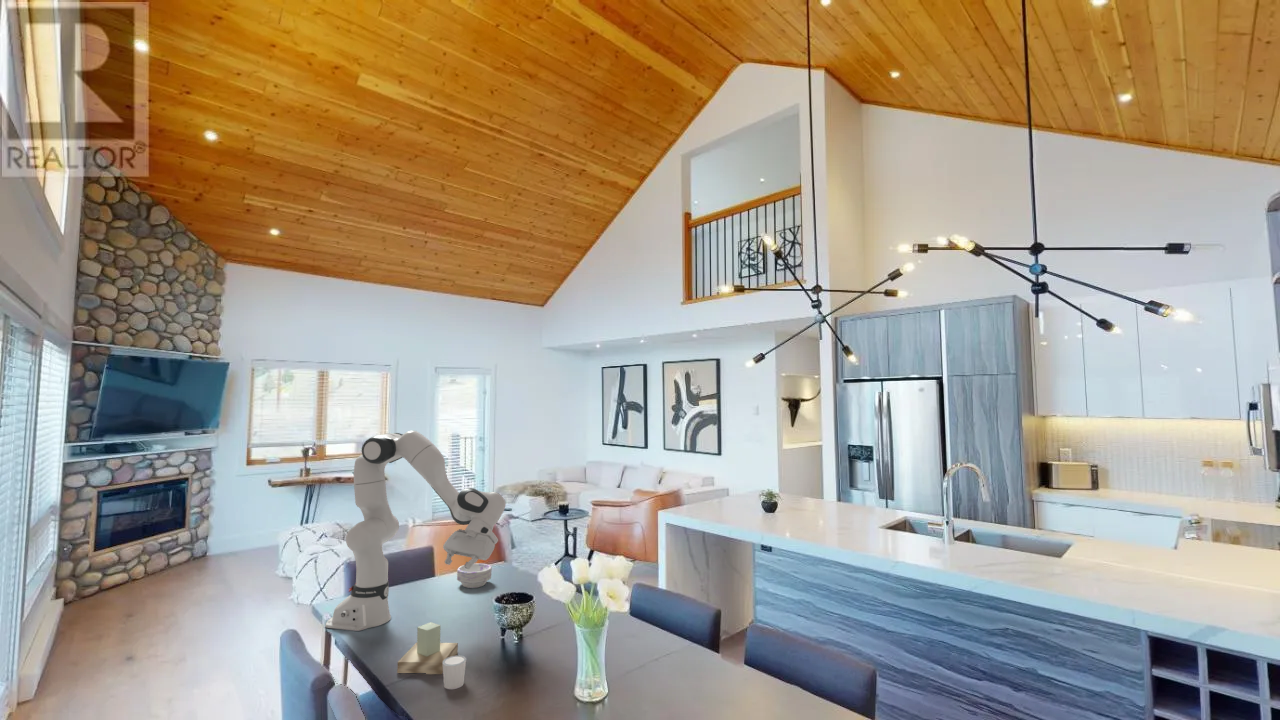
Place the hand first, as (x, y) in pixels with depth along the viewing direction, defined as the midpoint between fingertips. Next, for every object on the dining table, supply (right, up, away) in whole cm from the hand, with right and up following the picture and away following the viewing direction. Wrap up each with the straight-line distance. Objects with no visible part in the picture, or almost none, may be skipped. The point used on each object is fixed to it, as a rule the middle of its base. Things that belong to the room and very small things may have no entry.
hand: (456, 565), depth 199 cm
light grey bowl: (-11, -30, +57) cm, 65 cm away
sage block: (-3, -21, -19) cm, 28 cm away
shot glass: (+10, -24, -32) cm, 41 cm away
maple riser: (-3, -25, -19) cm, 32 cm away
